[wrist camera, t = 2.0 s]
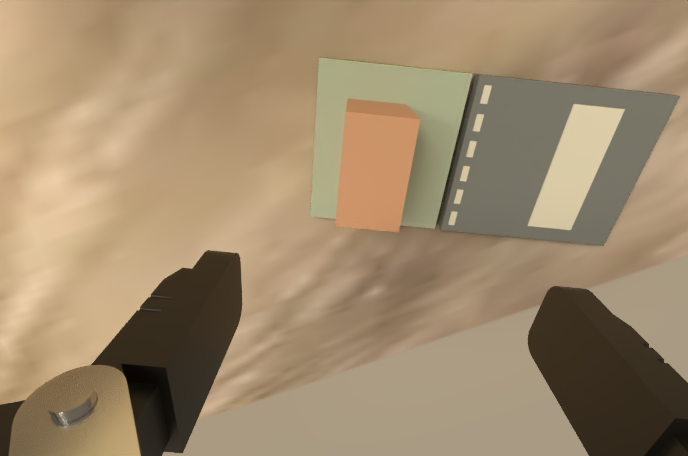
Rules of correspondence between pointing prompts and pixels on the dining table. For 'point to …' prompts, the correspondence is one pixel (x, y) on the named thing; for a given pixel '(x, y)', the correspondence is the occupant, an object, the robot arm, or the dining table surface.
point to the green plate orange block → (384, 142)
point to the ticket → (549, 158)
